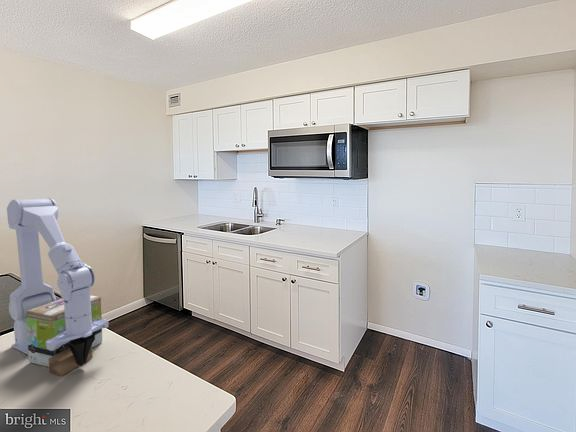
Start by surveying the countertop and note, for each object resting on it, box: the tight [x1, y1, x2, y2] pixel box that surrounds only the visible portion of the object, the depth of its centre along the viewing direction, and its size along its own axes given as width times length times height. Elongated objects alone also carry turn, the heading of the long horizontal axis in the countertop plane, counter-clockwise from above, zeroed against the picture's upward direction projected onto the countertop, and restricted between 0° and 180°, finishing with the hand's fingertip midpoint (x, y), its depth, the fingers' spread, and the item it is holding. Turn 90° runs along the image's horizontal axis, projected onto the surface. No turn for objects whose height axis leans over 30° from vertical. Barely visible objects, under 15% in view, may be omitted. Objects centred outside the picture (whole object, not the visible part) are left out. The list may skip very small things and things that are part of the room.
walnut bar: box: [48, 345, 93, 377], centre depth 86 cm, size 4×9×4 cm, turn 162°
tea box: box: [27, 294, 103, 368], centre depth 92 cm, size 15×10×15 cm, turn 164°
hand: (81, 363), depth 84 cm, fingers closed
